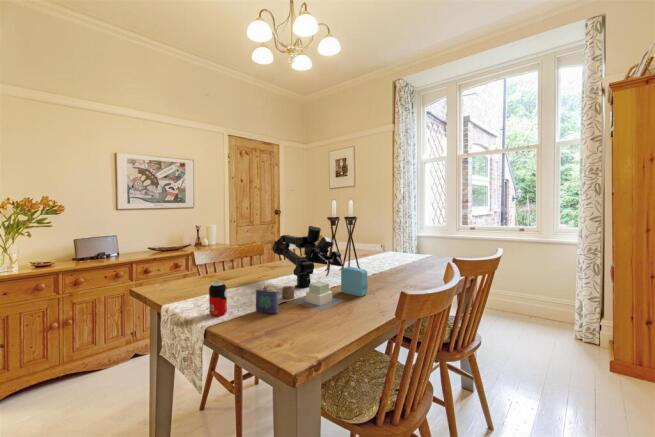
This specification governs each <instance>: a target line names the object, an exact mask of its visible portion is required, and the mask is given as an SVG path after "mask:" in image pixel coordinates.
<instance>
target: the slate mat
mask: <svg viewBox="0 0 655 437" xmlns="http://www.w3.org/2000/svg"><path fill="white" fill-rule="evenodd" d="M345 301H346V300H345V299H341V298H337V297H334V296H332V301H330V302H328V303H325V304H323V305H321V306H319V305H316V304H312V303H309V302H306V297H303V298H300V299H297V300H295V301H293V303H295V304H297V305H301V306H304V307H307V308H311V309H314V310H318V311H320V312H321V311H323V310H326V309H328V308H331V307H334V306H335V305H337V304H340V303H343V302H345Z"/></svg>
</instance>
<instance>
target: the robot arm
mask: <svg viewBox="0 0 655 437" xmlns="http://www.w3.org/2000/svg"><path fill="white" fill-rule="evenodd" d="M321 230H322V229H321V227H317V226H313V225H309V226H308V231H307V236H306V235H305V236H295V235H289V234H283V235H280V237H279V238H278V239H277V240H276V241H274V243H273V245H272V248H271V249H272V251H273V253H274V254H275V255H278V256H283V257H284V258H285V259H286V260H288V261H289V262H291V263H292V264H293V265H294V266H295V268H294V269H293V271H292V272H293V276H295V277H296V284H295V285H294V288H299V289H306V288H309V284H311V275H313V274H314V269H315V264H319V265H328V264H329V265H331V266H335V267H342V268H343V263H342V261H341V260H340V259H341V256H342V254H341V252H339V251H335V250H334V251H331V253H330V255H329V254H328V253H329V251H330V250H329V249H330V248H332V247H333V245H334V243H335V242H334V240H333V239H331V238H330V237H326V236H323V237H322V238H321V239H320V236H321ZM317 242H318V244H317ZM291 245H294V246H295V248H297V249H299V250H300V249H304V254H303V255H305V256H299V255H298V254H297V253H295V252H294V251H293V250H292V249H290V247H291Z"/></svg>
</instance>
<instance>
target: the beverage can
mask: <svg viewBox="0 0 655 437" xmlns="http://www.w3.org/2000/svg"><path fill="white" fill-rule="evenodd" d="M225 283H226V282H224V281H214V282H211V283H210V286H209V288H208V300H209V301H208V302H209V303H208V304H209V314H210V315H211V316H212V317H221V315H222V316H224V315H225V314H226V313H227V312H228V303H227V302H228V297H227V296H228V295H227V286H226V284H225Z"/></svg>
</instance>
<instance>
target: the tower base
mask: <svg viewBox="0 0 655 437" xmlns="http://www.w3.org/2000/svg"><path fill="white" fill-rule="evenodd" d="M332 297H333V291H331V290H329V292H327V293H324V294H321V295H318V294H314V293H310V292H309V291H306V292H305V298H306V302H309V303H312V304H316V305H319V306H321V305H323V304H325V303H328V302H330V301H332Z"/></svg>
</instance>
